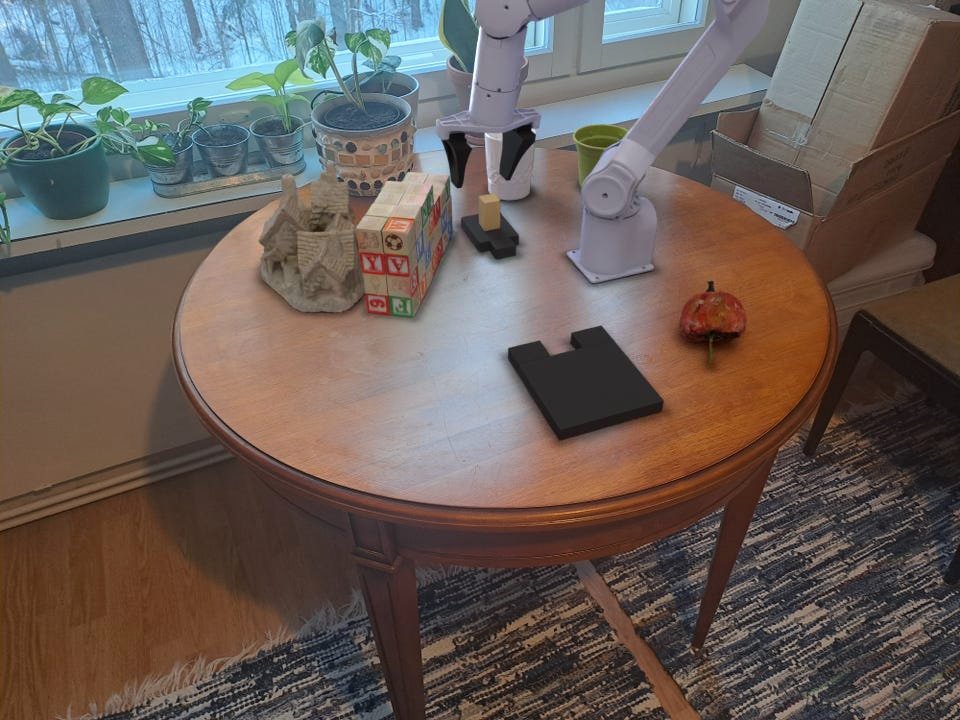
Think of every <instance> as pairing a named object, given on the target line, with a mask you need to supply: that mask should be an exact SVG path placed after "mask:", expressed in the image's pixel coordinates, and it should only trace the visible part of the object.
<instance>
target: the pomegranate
mask: <svg viewBox="0 0 960 720" xmlns="http://www.w3.org/2000/svg"><path fill="white" fill-rule="evenodd" d="M706 283H707V284H708V288H707V289H706V290H705V291H702V292H699V293H696V294H694V295H692V296H691V297H690V298H689V299H688V300H686V302H685V304H684V305H683V307H682V309H681V314H680V317H679V323H678V325H679V328H680V331H681V334H682V335H683V337H684V338H685V339H686V340H687V341H688V342H691V343H698V342H705V341H709V343H708V348H709V366H711V364H712V356H713V352H714V349H713V343H729V342H731V341H733V340H736V339H739V338H741V337H743V335H744V334H745V332H746V331H747V326H748V325H747V324H748V316H747V311H746V308H745V307H744V305H743V303H742V302H741V300H739V298H738V297H736V296H735V295H733V294H731V293H729V292H725V291H723V290H715V287H714V285H715V282H714V280H710V281H706Z"/></svg>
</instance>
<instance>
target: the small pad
mask: <svg viewBox="0 0 960 720" xmlns="http://www.w3.org/2000/svg"><path fill="white" fill-rule="evenodd" d="M460 224H461V225H460V226H461V228H462V230H463V231H464V232H465V234H466V235H467V236H468V238H469V239H470V241H471V242H472V244H473V245H474V247H475V248H476V249H477V252H479V253H484V252H490V253H491V254H492V256H493V257H494V259H495V260H500V259H505V258H509V257H514V256H516V254H517V246H519V245H520V244H519V243H520V242H519V241H520V235H519V233H518V232H517V231H516V230H515V228H514V227H513V226H512V225H511V223H510V222H509V221H508V220H507V218H506V217H505V215H503V214H502V212H501V199H499V198H498V197H497V196H496V195H495V194H494V193H492V194H490V193H487V194H482V195H481V194H480V195H478V213H476V214H471V215H465V216H461V217H460Z"/></svg>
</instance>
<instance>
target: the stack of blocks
mask: <svg viewBox="0 0 960 720" xmlns="http://www.w3.org/2000/svg"><path fill="white" fill-rule="evenodd" d="M452 200H453V198H452V194H451V178H450V174H441V173H431V172H430V173H427V172H426V173H425V172H414V171H413V172H412V171H407V172H406V174H405V176H404V177H403V179H402V181H394V180H386V181H385V184H384V185H383V187H382V188H381V190H380V192H379V194H378V195H377V197H376V198H375V200H374V202H373V203H372V204H371V205H370V206H369V209H368V210H367V211H366V213H365V215H364V216H363V217H362V218H361V219H360V221H359V223H358V224H357V227H356V231H357V238H358V245H359V256H360V263H361V270H362V274H363V280H364V288H365V293H364V297H365V304H366V311H367V313H371V314H379V315H388V316H397V317H406V318H414V317H415V316H416V314H417V312H418V309H419V307H420V305H421V304H422V302H423V301H424V298H425V296H426V294H427V292H428V289H429V287H430V285H431V283H432V281H433V279H434V275H435V272H436V270H437V268H438V266H439V263H440V261H441V259H442V256H443V254H444V253H445V251H446V249H447V247H448V245H449V243H450V240H451V239H452V235H453V234H454V227H453V226H454V225H453V223H454V222H453V201H452Z"/></svg>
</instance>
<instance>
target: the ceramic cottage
mask: <svg viewBox="0 0 960 720" xmlns="http://www.w3.org/2000/svg"><path fill="white" fill-rule="evenodd" d="M280 180H281V181H280V182H281V183H280V184H281V191H282V196H283V197H281V199H280V201H279V205H278V207H277V208H276V209H275V210H274V212H273V214H272V215H271V216H270V217H269V218H268V219H267V220H266V221H265V222H264V226H263V229H262V232H261V234H260V235H259V238H258V239H257V240H258V243H259V244H260V245H261V246H262V247H263V253H262V254H261V257H260V261H261V262H260V277H261V280H262V281H264V283H265V284H266V285H268V287H270V288H271V289H272V290H273V291H274V292H276V293H277V294H278V295H279V296H281V298H283V299H284V300H285V301H286V302H287V303H288V304H289V305H290V306H291V308H293V309H295V310H298V311H300V312H301V313H311V314H312V313H314V314H315V313H316V312H317V313H320V312H327V313H333V314H334V313H335V314H336V313H343V312H346V311H348V310H350V309H351V308H352V307H354V306H355V304H357V303H358V302H359V300H360V299H362V297H363V296H364V295H365V288H364V280H363V274H362V270H361V263H360V256H359V245H358V238H357V231H356V227H357V226H358V224H357V223H356V222H355V219H356V214H355V212H354V210H353V206H352V199H351V195H350V192H349V184H348V182H347V181H340V182H339V178H338V176H337V173H336V170H335V163H334V161H331V160H327V161H326V167H325V168H323V169H322V170H321V172H320V176H319V179H318V180H309V182H310V183H309V184H310V185H309V186H310V189H309V194H310V206H309V207H308V206H307V205H306V204H305V203H304V202H303V201H301V200H300V198H299V192H298V188H297V183H296V180H295V177H294V175H293V174H291V173H284V174H282V175H281V179H280Z"/></svg>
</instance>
